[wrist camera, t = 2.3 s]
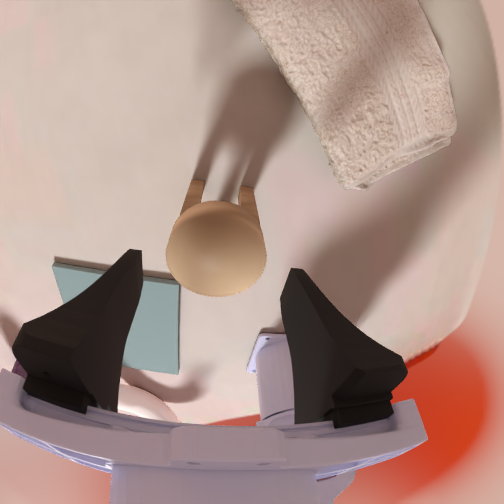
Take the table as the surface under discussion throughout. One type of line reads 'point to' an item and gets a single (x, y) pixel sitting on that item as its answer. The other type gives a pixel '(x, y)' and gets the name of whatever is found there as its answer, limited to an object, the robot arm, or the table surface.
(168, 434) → the robot arm
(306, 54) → the washcloth
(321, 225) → the table surface
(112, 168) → the table surface
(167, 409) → the banana
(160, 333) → the mat
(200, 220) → the tan piece
